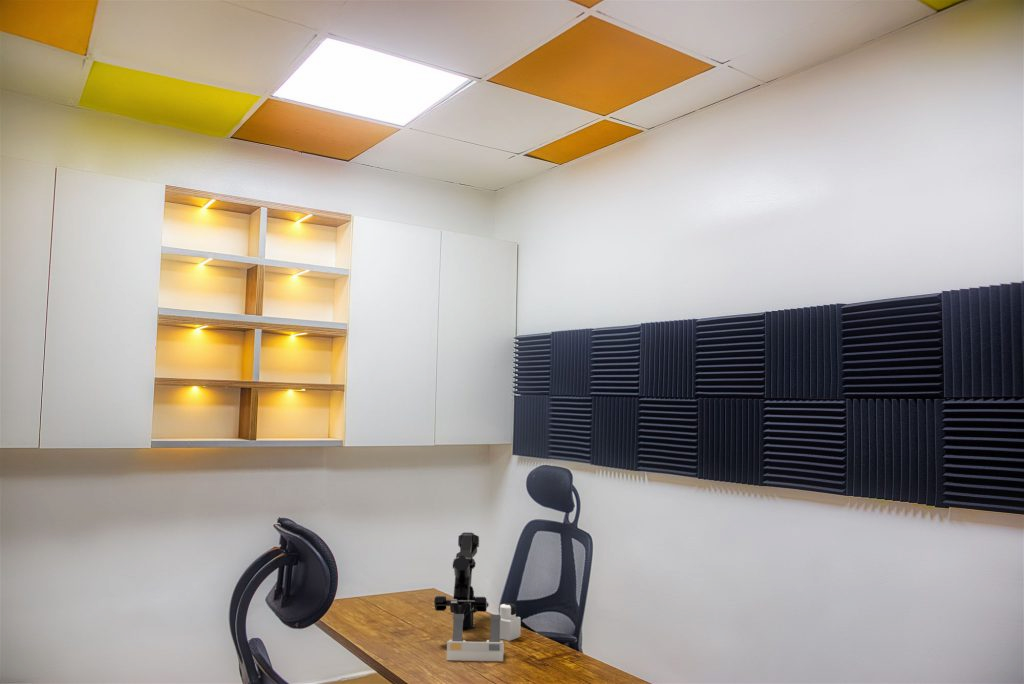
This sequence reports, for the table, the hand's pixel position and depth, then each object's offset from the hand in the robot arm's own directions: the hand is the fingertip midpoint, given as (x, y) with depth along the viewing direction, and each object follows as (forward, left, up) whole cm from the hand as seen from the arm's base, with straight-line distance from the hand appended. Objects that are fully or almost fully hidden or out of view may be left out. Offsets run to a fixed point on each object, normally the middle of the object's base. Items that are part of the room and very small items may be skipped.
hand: (458, 625), depth 265 cm
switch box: (+1, +10, -8) cm, 13 cm away
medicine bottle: (-23, +1, -8) cm, 24 cm away
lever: (-5, +14, -4) cm, 15 cm away
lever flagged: (+4, +4, -4) cm, 8 cm away
